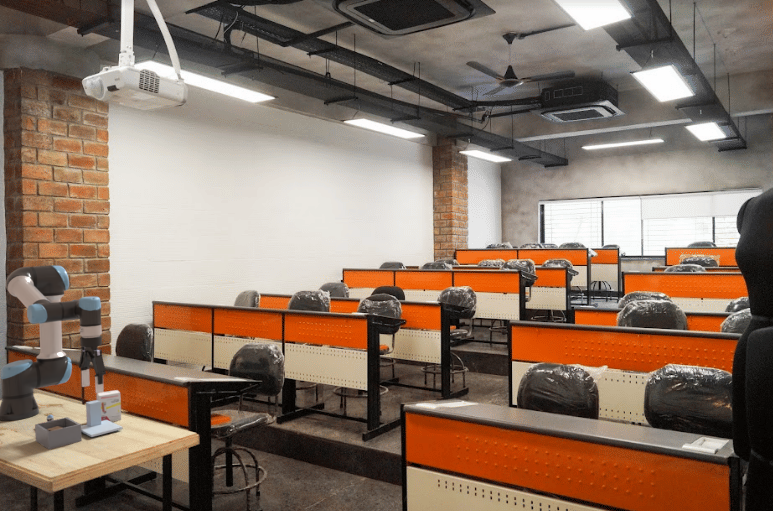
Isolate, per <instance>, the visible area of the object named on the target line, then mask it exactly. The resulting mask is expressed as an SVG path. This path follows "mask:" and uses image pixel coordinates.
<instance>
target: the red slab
mask: <svg viewBox="0 0 773 511" xmlns="http://www.w3.org/2000/svg"><path fill="white" fill-rule="evenodd" d="M53 420H55V418H54V415H53V414H48V415H47V417H46V422H48V421H53ZM44 422H45V421H44ZM44 422H42V423H44Z"/></svg>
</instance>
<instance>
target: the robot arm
mask: <svg viewBox="0 0 773 511" xmlns="http://www.w3.org/2000/svg"><path fill="white" fill-rule="evenodd" d="M69 280H70V279H69V276H68V272H67V270H66V269H65V268H64V267H63V266H61V265H38V266H23V267H19V268H17V269H15V270H13V271H12V272H11V273H9V274H8V277H7V278H6V281H5V288H6V290H7V292H8V293H9V294H10V295H11V296H13V297H15V298H17V299H18V300H19V301H20V302H21V303H22V304H23V306H25V308H26V309H27V310H26V315H27V316H26V317H27V320H28V322H29V323H30V324H32V325H33V324H39V347H40V348H39V350H40V351H39V354H38V355H37V356H36V361H33V360H32V359H28V358H27V359H20V360H16V361H13V362H9V363H6V364H5V365H3V366H2V367H1V369H0V386H1V402H0V421H2V422H3V421H7V422H8V421H18V420H22V419H27V418H31V417H34V416H37V415H38V414H39V412H40V407H39V405H38V402H37V400H36V398H35V395H34V390H35V389H39V388H45V387H46V388H47V387H50V386H58V385H61V384H65V383H67V382H68V381H69V379H70V378H71V375H72V371H73V365H72V359H71V358H70V357H69V356H67V353H66V352H65V351H63V334H62V333H63V331H62V322H63V321H71V320H72V321H73V320H79V329H78V331H79V333H80V334H79V335H80V348H81V349H80V350H81V352H80V358H79V362H78V368H79V369H80V371H81V387H82V388H85V387H90V385H91V384H90V383H91V382H90V364H91V363H92V367H93V370H94V373H95V374H94V382H95V387H94V388H95V389H94V390H95V394H97V393H101V392H105V391H104V376H105V375H106V374H107V371H106V367H105V362H104V359H103V353H102V349H98V347H100V346H102V345H103V343H102V342H103V341H102V340H103V339H102V338H103V336H102V334H103V333H102V332H103V331H102V304H101V298H100V297H99V296H84V297H83V296H82V297H80V298H79V299H73V300H67V301H61V299H62V298H63V297H64V296H65V292H66V291H67V290H69V286H70V281H69Z"/></svg>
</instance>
